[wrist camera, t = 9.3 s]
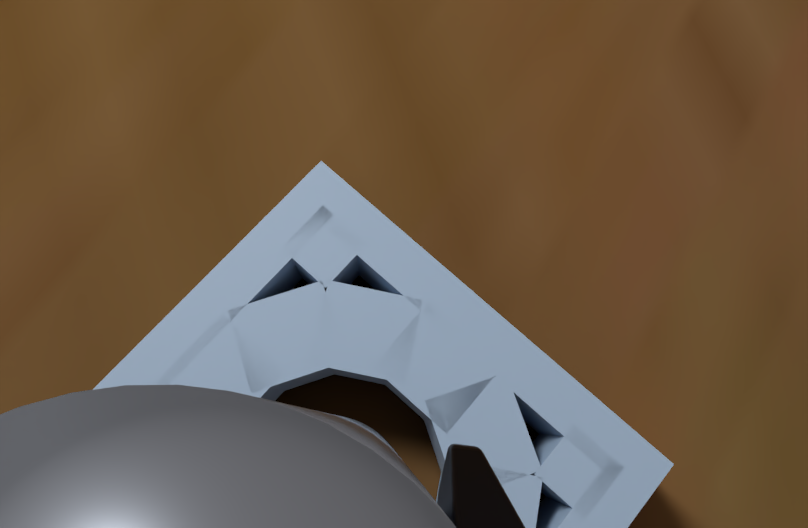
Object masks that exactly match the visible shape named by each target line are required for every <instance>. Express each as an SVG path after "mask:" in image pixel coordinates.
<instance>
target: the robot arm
mask: <svg viewBox="0 0 808 528" xmlns="http://www.w3.org/2000/svg"><path fill="white" fill-rule="evenodd" d="M437 504H438V505H439V506H440V507H441V509H442V510H443V511H444V512H445V514H446V515H447V516H448V517H449V519H450V520H451V521H452V522H453V524H454V525H455V526H456V528H525V526H524V524H523V523H522V521H521V519H520V517H519V515H518V514H517V512H516V510H515V508H514V507H513V505H512V503H511V501H510V499H509V498H508V496H507V494H506V492H505V491H504V489H503V487H502V485H501V483H500V482H499V480H498V478H497V476H496V474H495V473H494V471H493V469H492V467H491V466H490V464H489V462H488V460H487V458H486V457H485V455H484V453H483V452H482V450H481V449H480V448H478V447H476V446H469V445H462V444H452V445H450V446H449V447H448V450H447V454H446V459H445V463H444V468H443V472H442V476H441V481H440V486H439V492H438V501H437Z"/></svg>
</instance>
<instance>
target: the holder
mask: <svg viewBox="0 0 808 528" xmlns="http://www.w3.org/2000/svg"><path fill="white" fill-rule="evenodd" d="M358 276H360V277H361V278H362V279H364V280H365V281H366V282H367V283H368V284H369V285H370V286H372V287H373V288H374V289H375V290H374V289H369V288H364V287H359V286H355V285H350V284H351V283H352V282H353V281H354V280H355V279H356V278H357V277H358ZM301 279H304V280H305V281H306V282H307V283H308V284H309V285H306V286H303V287H300V288H296V289H293V287H294V286H295V285H296V284H297V283H298V282H299V281H300V280H301ZM292 289H293V290H292ZM334 374H335V375H340V376H345V377H349V378H354V379H359V380H364V381H369V382H374V383H378V384H383V385H386V386H387V387H388V388H389V389H390V390H391V391H392V392H393V393H395V394H396V395H397V396H398V397H399V398H400V399H401V400H402V401H403V402H404V403H406V404H407V405H408V406H409V407H410V408H411V409H412V410H413V411H414V412H416V413H417V414H418V415H419V416H420V417H421V418H422V419H423V420H424V422H425V425H426V428H427V431H428V434H429V437H430V440H431V443H432V446H433V449H434V452H435V455H436V458H437V461H438V464H439V467H440V470H441V476H442V472H443V468H444V463H445V459H446V454H447V450H448V447H449V446H450V445H452V444H462V445H469V446H476V447H478V448H480V449H481V450H482V452H483V453H484V455H485V457H486V458H487V460H488V462H489V464H490V466H491V467H492V469H493V471H494V473H495V474H496V476H497V478H498V480H499V482H500V483H501V485H502V487H503V489H504V491H505V492H506V494H507V496H508V498H509V499H510V501H511V503H512V505H513V507H514V508H515V510H516V512H517V514H518V515H519V517H520V519H521V521H522V523H523V524H524V526H525V528H628V527H629V525H630V524H631V523H632V521H633V520H634V518H635V517H636V516H637V514H638V513H639V512H640V510H641V509H642V507H643V506H644V505H645V503H646V502H647V501H648V499H649V498H650V497H651V495H652V494H653V492H654V491H655V490H656V488H657V487H658V486H659V484H660V483H661V481H662V480H663V479H664V477H665V476H666V475H667V473H668V472H669V470H670V469H671V468H672V466H673V465H674V464H673V463H672V462H671V461H669V460H668V459H667V458H666V457H665V456H664V455H662V454H661V453H660V452H659V451H658V450H657V449H655V448H654V447H653V446H652V445H651V444H650V443H649V442H647V441H646V440H645V439H644V438H643V437H642V436H640V435H639V434H638V433H637V432H636V431H635V430H633V429H632V428H631V427H630V426H629V425H628V424H626V423H625V422H624V421H623V420H622V419H621V418H619V417H618V416H617V415H616V414H615V413H614V412H612V411H611V410H610V409H609V408H608V407H607V406H606V405H604V404H603V403H602V402H601V401H600V400H599V399H597V398H596V397H595V396H594V395H593V394H592V393H590V392H589V391H588V390H587V389H586V388H585V387H583V386H582V385H581V384H580V383H579V382H578V381H576V380H575V379H574V378H573V377H572V376H571V375H569V374H568V373H567V372H566V371H565V370H564V369H563V368H561V367H560V366H559V365H558V364H557V363H556V362H554V361H553V360H552V359H551V358H550V357H549V356H547V355H546V354H545V353H544V352H543V351H542V350H540V349H539V348H538V347H537V346H536V345H535V344H533V343H532V342H531V341H530V340H529V339H528V338H526V337H525V336H524V335H523V334H522V333H521V332H519V331H518V330H517V329H516V328H515V327H514V326H513V325H511V324H510V323H509V322H508V321H507V320H506V319H504V318H503V317H502V316H501V315H500V314H499V313H497V312H496V311H495V310H494V309H493V308H492V307H490V306H489V305H488V304H487V303H486V302H485V301H483V300H482V299H481V298H480V297H479V296H478V295H476V294H475V293H474V292H473V291H472V290H471V289H470V288H468V287H467V286H466V285H465V284H464V283H463V282H461V281H460V280H459V279H458V278H457V277H456V276H454V275H453V274H452V273H451V272H450V271H449V270H447V269H446V268H445V267H444V266H443V265H442V264H440V263H439V262H438V261H437V260H436V259H435V258H433V257H432V256H431V255H430V254H429V253H428V252H427V251H425V250H424V249H423V248H422V247H421V246H420V245H418V244H417V243H416V242H415V241H414V240H413V239H411V238H410V237H409V236H408V235H407V234H406V233H404V232H403V231H402V230H401V229H400V228H399V227H397V226H396V225H395V224H394V223H393V222H392V221H390V220H389V219H388V218H387V217H386V216H385V215H383V214H382V213H381V212H380V211H379V210H378V209H377V208H375V207H374V206H373V205H372V204H371V203H370V202H368V201H367V200H366V199H365V198H364V197H363V196H361V195H360V194H359V193H358V192H357V191H356V190H354V189H353V188H352V187H351V186H350V185H349V184H347V183H346V182H345V181H344V180H343V179H342V178H340V177H339V176H338V175H337V174H336V173H335V172H334V171H332V170H331V169H330V168H329V167H328V166H327V165H325V164H324V163H323V162H322V161H320V162H319V163H318V164H317V165H316V166H315V167H314V168H313V169H312V170H311V171H310V172H309V173H308V174H307V175H306V176H305V177H304V178H303V180H302V181H301V182H300V183H299V184H298V185H297V186H296V187H295V188H294V189H293V190H292V191H291V192H290V193H289V194H288V195H287V196H286V197H285V198H284V199H283V200H282V201H281V202H280V203H279V204H278V205H277V206H276V207H275V208H274V209H273V210H272V211H271V212H270V213H269V214H268V215H267V216H266V217H265V218H264V219H263V220H262V221H261V222H260V223H259V224H258V225H257V226H256V227H255V228H254V229H253V230H252V231H251V232H250V233H249V234H248V235H247V236H246V237H245V238H244V239H243V240H242V241H241V242H240V243H239V244H238V245H237V246H236V247H235V248H234V249H233V250H232V251H231V252H230V253H229V254H228V255H227V256H226V257H225V258H224V259H223V260H222V261H221V262H220V263H219V264H218V265H217V266H216V267H215V268H214V269H213V270H212V271H211V272H210V273H209V274H208V275H207V276H206V277H205V278H204V279H203V280H202V281H201V282H200V283H199V284H198V285H197V286H196V287H195V288H194V289H193V290H192V291H191V292H190V293H189V294H188V295H187V296H186V297H185V298H184V299H183V300H182V301H181V302H180V303H179V304H178V305H177V306H176V307H175V308H174V309H173V310H172V311H171V312H170V313H169V314H168V315H167V316H166V317H165V318H164V319H163V320H162V321H161V322H160V323H159V324H158V325H157V326H156V327H155V328H154V329H153V330H152V331H151V332H150V333H149V334H148V335H147V336H146V337H145V338H144V339H143V340H142V341H141V342H140V343H139V344H138V345H137V346H136V347H135V348H134V349H133V350H132V351H131V352H130V353H129V354H128V355H127V356H126V357H125V358H124V359H123V360H122V361H121V362H120V363H119V364H118V365H117V366H116V367H115V368H114V369H113V370H112V371H111V372H110V373H109V374H108V375H107V376H106V377H105V378H104V379H103V380H102V381H101V382H100V383H99V384H98V385H97V386H96V387H95V388H94V389H93V390H95V389H102V388H110V387H117V386H124V385H185V386H193V387H201V388H210V389H218V390H226V391H232V392H236V393H241V394H245V395H250V396H254V397H259V398H263V399H267V400H272V401H276V399H277V398H278V397H279V396H280V395H281V394H282V393H283V392H284V391H286V390H289V389H292V388H295V387H298V386H301V385H304V384H307V383H310V382H313V381H316V380H319V379H322V378H325V377H328V376H331V375H334ZM524 421H525V422H526V423H527V424H528V425H529V426H530V427H531V428H533V429H534V430H535V431H536V432H537V433H538V434H539V435H538V436H537V437H536V438H535V440H534V441H533V442H532V441H531V438H530V436H529V433H528V430H527V428H526V425H525V422H524ZM441 476H440V481H441ZM440 481H439V486H440ZM438 492H439V487H438ZM541 493H543V494H544V495H545V496H546V497H545V498H544V499H543V500H542V502H541V503H540V504H539V501H540V494H541ZM437 501H438V493H437V498H436V502H437Z"/></svg>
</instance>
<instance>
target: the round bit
mask: <svg viewBox="0 0 808 528" xmlns="http://www.w3.org/2000/svg"><path fill="white" fill-rule="evenodd" d="M0 528H456V526H455V525H454V524H453V522H452V521H451V520H450V519H449V517H448V516H447V515H446V514H445V512H444V511H443V510H442V509H441V507H440V506H439V505H438V504H437V502H436V501H435V500H434V499H433V497H432V496H431V495H430V494H429V493H428V491H427V490H426V489H425V488H424V486H423V485H422V484H421V483H420V481H419V480H418V479H417V478H416V476H415V475H414V474H413V473H412V471H411V470H410V469H409V468H408V466H407V465H406V464H405V463H404V462H403V460H402V459H401V458H400V457H399V455H398V454H397V453H396V452H395V450H394V449H393V448H392V447H391V445H390V444H389V443H388V442H387V441H386V440H385V439H384V438H383V437H382V436H381V435H380V434H379V433H378V432H376V431H375V430H374V429H373V428H371V427H369V426H367V425H366V424H364V423H362V422H359V421H357V420H354V419H350V418H346V417H342V416H338V415H333V414H329V413H325V412H320V411H316V410H311V409H307V408H303V407H298V406H294V405H289V404H285V403H281V402H276V401H272V400H267V399H263V398H259V397H254V396H250V395H245V394H241V393H236V392H232V391H226V390H218V389H210V388H201V387H193V386H185V385H124V386H117V387H110V388H102V389H95V390H88V391H81V392H74V393H69V394H66V395H62V396H58V397H55V398H51V399H47V400H44V401H40V402H36V403H33V404H29V405H25V406H21V407H18V408H16V409H13V410H11V411H8V412H6V413H3V414H1V415H0Z"/></svg>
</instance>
